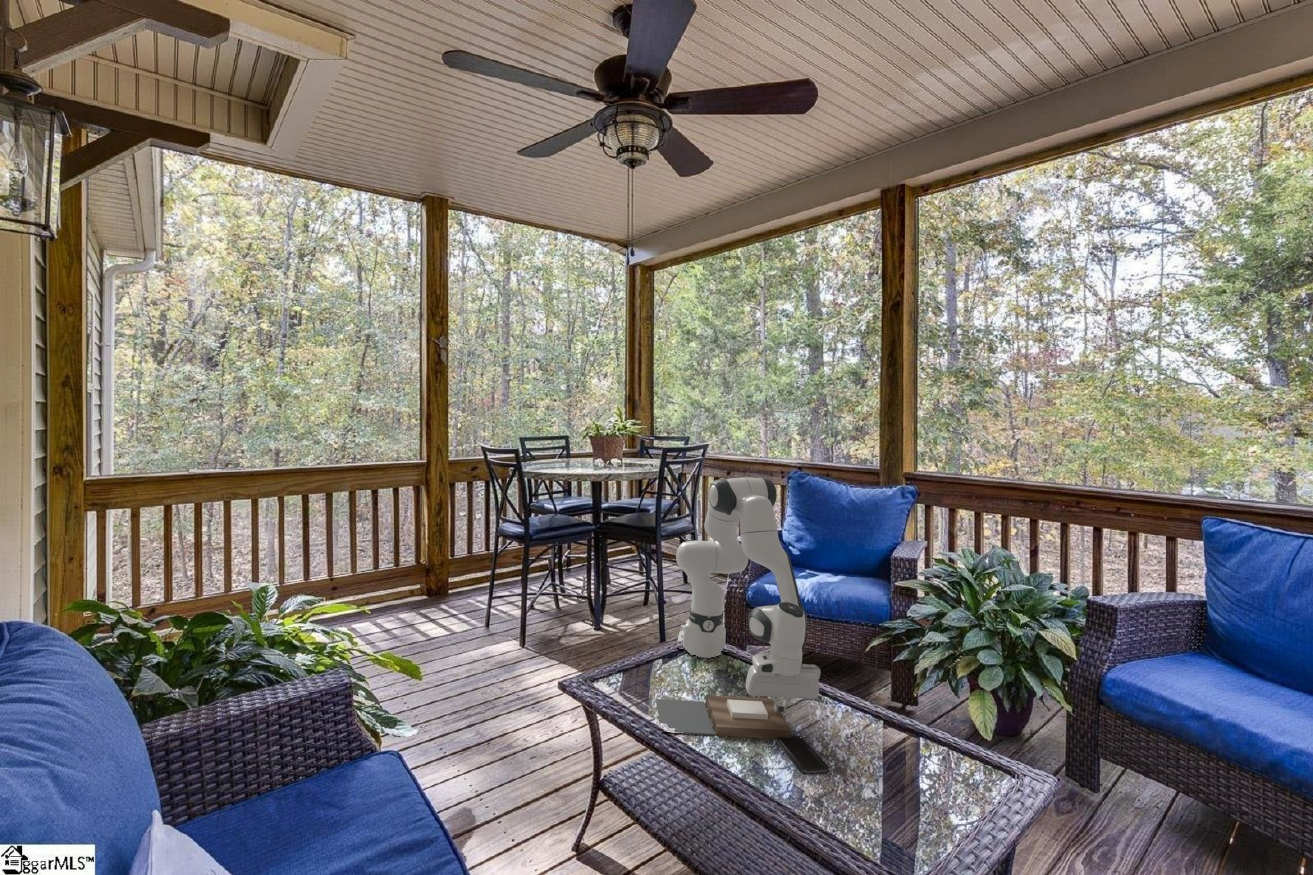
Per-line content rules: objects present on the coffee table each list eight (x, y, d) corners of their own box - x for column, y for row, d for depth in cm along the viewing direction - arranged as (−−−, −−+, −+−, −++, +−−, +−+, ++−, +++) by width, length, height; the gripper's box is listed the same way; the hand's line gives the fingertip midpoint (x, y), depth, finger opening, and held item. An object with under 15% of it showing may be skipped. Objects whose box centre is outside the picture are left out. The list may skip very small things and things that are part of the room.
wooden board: (705, 703, 176) (706, 695, 176) (772, 707, 178) (773, 698, 178) (715, 735, 159) (716, 726, 159) (789, 739, 161) (790, 730, 161)
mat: (656, 700, 175) (656, 698, 175) (703, 703, 176) (704, 701, 176) (661, 732, 158) (661, 731, 158) (714, 735, 159) (714, 733, 159)
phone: (802, 771, 146) (774, 736, 160) (802, 776, 146) (774, 740, 160) (831, 769, 148) (801, 735, 162) (831, 774, 148) (801, 739, 163)
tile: (726, 704, 172) (727, 699, 172) (761, 706, 172) (761, 701, 172) (731, 717, 165) (732, 712, 165) (767, 719, 166) (768, 714, 165)
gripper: (817, 660, 173) (811, 707, 173) (747, 655, 171) (741, 703, 172) (825, 670, 166) (819, 718, 167) (752, 665, 165) (746, 714, 165)
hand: (779, 711), depth 169 cm, fingers closed
